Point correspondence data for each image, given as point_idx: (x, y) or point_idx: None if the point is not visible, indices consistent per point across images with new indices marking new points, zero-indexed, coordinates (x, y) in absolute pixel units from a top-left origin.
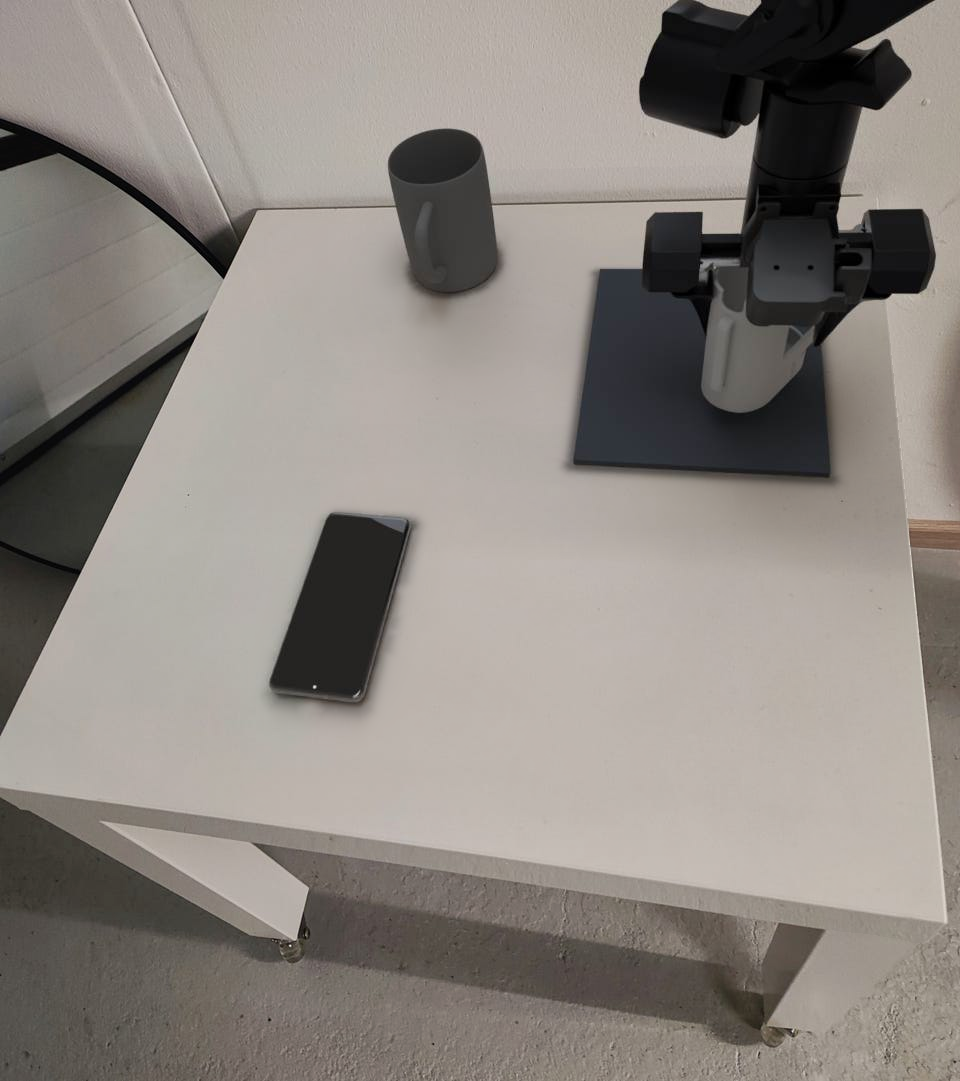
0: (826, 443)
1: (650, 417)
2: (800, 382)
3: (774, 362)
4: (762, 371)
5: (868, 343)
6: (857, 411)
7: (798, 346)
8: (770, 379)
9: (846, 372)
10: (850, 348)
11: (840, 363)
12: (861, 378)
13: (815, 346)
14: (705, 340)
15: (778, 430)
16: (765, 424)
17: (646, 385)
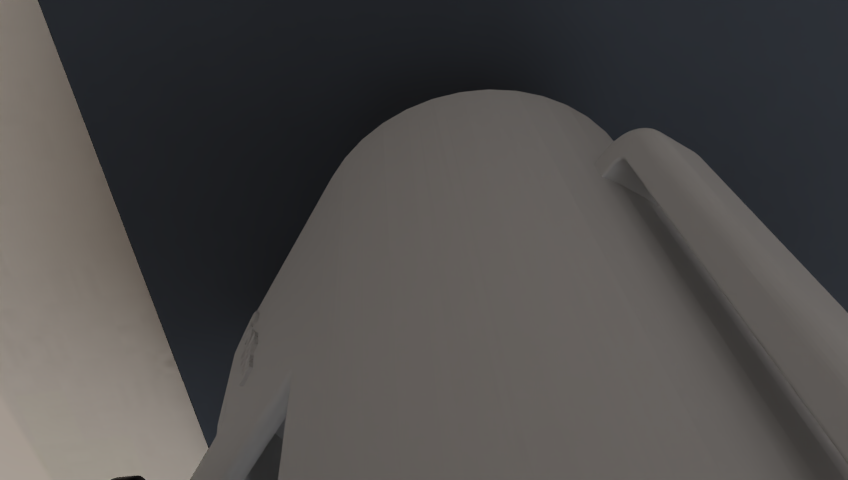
0: (57, 30)
1: (813, 72)
2: (239, 312)
3: (334, 352)
4: (405, 277)
5: (80, 466)
6: (15, 225)
7: (227, 463)
8: (342, 252)
9: (109, 369)
10: (125, 446)
11: (138, 397)
12: (54, 354)
13: (127, 478)
14: None
15: (275, 75)
16: (334, 101)
17: (794, 230)
